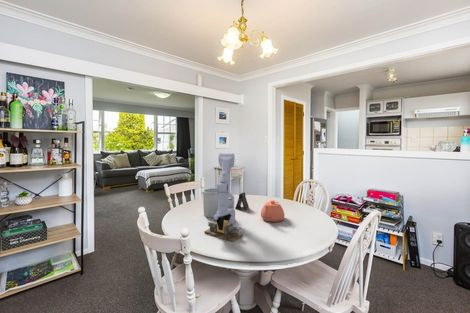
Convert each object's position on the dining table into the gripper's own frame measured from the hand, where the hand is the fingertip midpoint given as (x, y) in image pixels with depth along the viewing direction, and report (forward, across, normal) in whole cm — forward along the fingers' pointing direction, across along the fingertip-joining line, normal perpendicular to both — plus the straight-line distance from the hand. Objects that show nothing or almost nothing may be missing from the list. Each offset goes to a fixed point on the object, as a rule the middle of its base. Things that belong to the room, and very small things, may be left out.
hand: (223, 228), depth 128 cm
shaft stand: (+4, 0, 0) cm, 4 cm away
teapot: (+4, -38, +12) cm, 40 cm away
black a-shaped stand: (+4, -47, -16) cm, 50 cm away
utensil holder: (+4, -24, -26) cm, 36 cm away
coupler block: (+2, 0, 0) cm, 2 cm away
